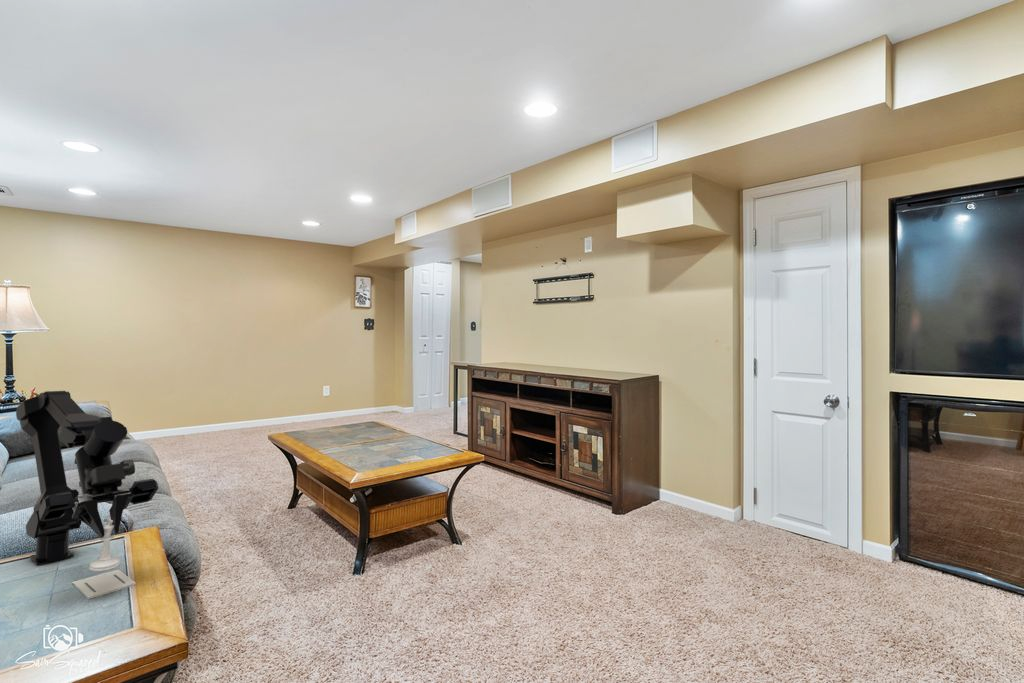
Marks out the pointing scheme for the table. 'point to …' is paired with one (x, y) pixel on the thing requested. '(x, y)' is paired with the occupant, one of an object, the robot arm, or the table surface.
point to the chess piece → (105, 550)
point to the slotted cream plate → (103, 583)
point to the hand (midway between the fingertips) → (109, 535)
